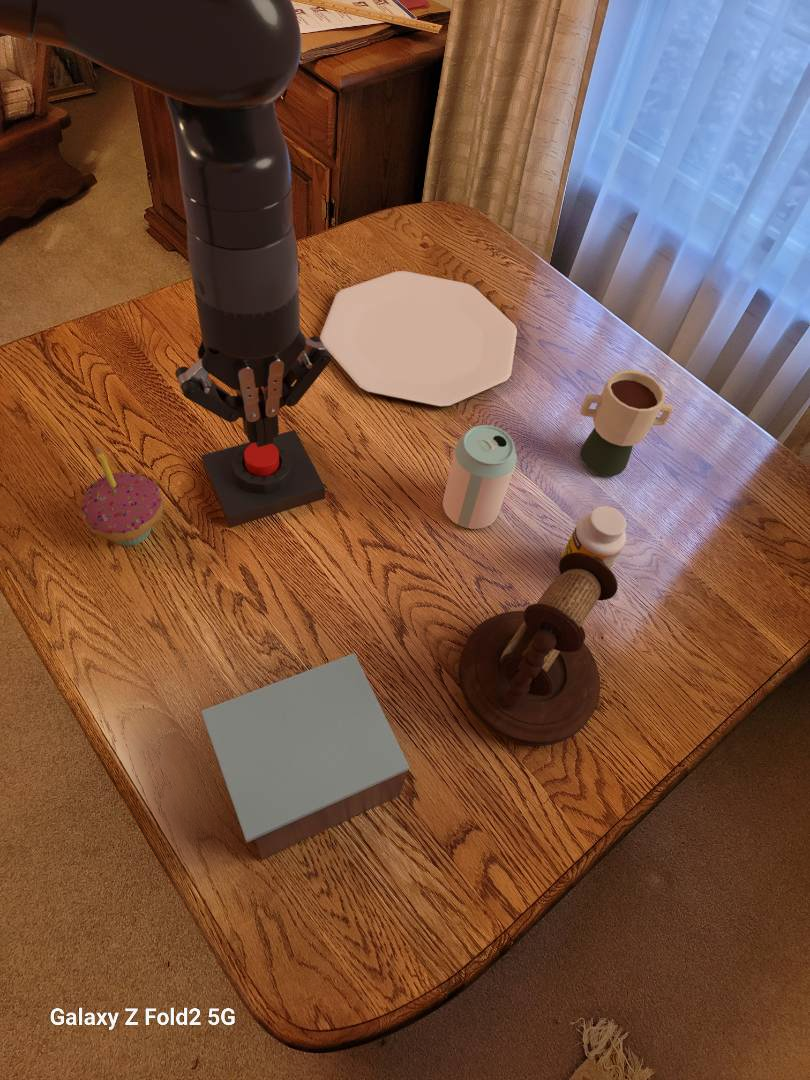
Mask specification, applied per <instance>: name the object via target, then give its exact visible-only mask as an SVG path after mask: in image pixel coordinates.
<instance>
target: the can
mask: <svg viewBox="0 0 810 1080" xmlns="http://www.w3.org/2000/svg"><path fill="white" fill-rule="evenodd" d="M517 461H518V456H517V451H516V448H515V442H514V440H513V438H512V437H511V435H510V434H508V432H506V431H505V430H503V429H501V428H499V427H497V426H494V425H488V424H480V425H476V426H473V427H471V428H470V429H468V430H467V431H466V432H465V434H463V435H462V436H461V437H460V438H459V439H458V441H457V442H456V444H455V448H454V452H453V455H452V460H451V464H450V468H449V473H448V477H447V481H446V485H445V490H444V495H443V497H442V508H443V512H444V513H445V515H446V516H447V518H448V519H449V520H451V521H452V522H453V523H454V524H456V525H458V526H460V527H462V528H466V529H471V530H477V529H484V528H487V527H489V526H490V525H492V524H493V523H494V522H495V521H496V520H497V518H498V517H499V515H500V511H501V509H502V506H503V502H504V501H505V497H506V494H507V491H508V488H509V486H510V482H511V479H512V476H513V473H514V470H515V469H516V465H517Z"/></svg>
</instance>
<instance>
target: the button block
mask: <svg viewBox="0 0 810 1080" xmlns="http://www.w3.org/2000/svg"><path fill="white" fill-rule="evenodd" d="M250 444H252V443H250V442H249V441H247V442H245V443H241V444H237V445H234V446H231V447H226V448H222V449H219V450H216V451H212V452H209V453H208V452H207V453H205V454H201V456H200V457H201V461H202V467H203V469H204V471H205V474H206V476H207V479H208V482H209V483H210V486H211V489H212V491H213V493H214V496H215V498H216V500H217V502H218V504H219V505H218V506H219V507H220V509H221V512H222V514H223V516H224V519H225V521H226V523H227V526H228V529H231V528H235V527H238V526H241V525H244V524H247V523H251V522H254V521H257V520H261V519H264V518H267V517H270V516H274V515H277V514H280V513H283V512H286V511H290V510H292V509H296V508H299V507H302V506H305V505H309V504H313V503H315V502H318V501H321V500H324V499H326V486H325V484H324V482H323V480H322V478H321V476H320V475H319V473H318V470H317V469H316V467H315V465H314V463H313V461H312V460H311V458H310V456H309V454H308V452H307V450H306V448H305V446H304V444H303V443H302V440H301V439H300V437H299V435H298V432H297V431H296V430H295V429H293V430H289V431H285V432H282V433H278V436H277V437H274V438H273V445H274V446H275V447H276V448H277V449H278V452H279V467H278V469H277V470H276V471H275V472H274V473H273V474H271V475H268V476H256V475H253V474H251V473H250V472H249V471H248V470H247V469H246V466H245V459H244V452H245V450H246V448H247V447H248V446H249V445H250Z"/></svg>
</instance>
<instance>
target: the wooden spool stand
mask: <svg viewBox="0 0 810 1080" xmlns="http://www.w3.org/2000/svg"><path fill="white" fill-rule="evenodd" d="M559 561H560V562H559ZM559 561H558V571H559V574H560V575H558V576H557V578H555V579H554V580H553V581H552V582H551V584H549V585H548V587H547V588H546V590H544V592H543V593H542V594H541V596H540V597H539V599H538V600H537V602H536V603H531V604H529V605H528V606H527V607H526V608H525V610H511V611H506V612H505V611H504V612H501V613H498V614H496V615H493V616H491V617H488V618H487V619H485V620H484V621H483V622H481V623H480V624H478V625H477V626H476V627H475V628H474V629H473V631H472V632H471V633H470V634H469V636H468V638H467V639H466V641H465V643H464V645H463V648H462V651H461V653H460V657H459V660H458V681H459V686H460V690H461V693H462V696H463V698H464V700H465V702H466V704H467V706H468V707H469V709H470V711H471V713H473V715H474V716H475V717H476V719H478V721H479V722H480V723H482V724H483V726H485V727H486V728H487V729H489V730H490V731H491V732H492V733H494V734H496V735H497V736H499V737H500V738H502V739H505V740H508V741H509V742H512V743H515V744H519V745H524V746H531V747H546V746H551V745H555V744H558V743H561V742H565V741H567V740H568V739H570V738H572V737H573V736H575V735H577V734H578V733H579V732H580V731H581V730H582V729H583V728H584V727H585V725H587V724H588V722H589V721H590V719H591V718H592V716H593V715H594V713H595V711H596V709H597V706H598V704H599V699H600V695H601V679H600V673H599V668H598V665H597V663H596V662H597V661H596V660H595V657H594V656H593V653H592V652H591V650H590V648H589V647H588V645H587V644H586V642H585V641H586V631H585V629H584V627H583V626H582V625H583V623H584V622H585V620H586V619H587V617H588V616H589V614H590V612H591V611H592V609H593V608H594V606H595V605H596V603H597V602H598V601H607V600H610V599H612V598H613V597H614V596H616V593H617V591H618V588H619V587H618V585H619V584H618V581H617V578H616V576H615V574H614V572H613V571H612V569H611V568H610V569H609V568H608V567H607V566H606V565H605V563H604V561H603V560H602V559H601V558H599V557H596V556H590V555H588V554H584V553H578V552H574V553H569V554H566V555H565V556H563V557H562V559H561V560H560V559H559Z"/></svg>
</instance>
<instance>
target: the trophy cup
mask: <svg viewBox="0 0 810 1080" xmlns="http://www.w3.org/2000/svg"><path fill="white" fill-rule="evenodd" d="M665 398H666V393H665V391H664V388H663V387H662V385H661V384H660V383H659V382H658V381H657V380H656V379H655V378H654V377H652V376H651V375H649V374H647V373H646V372H644V371H643V372H642V371H640V370H636V369H620V370H619V371H616V372H614V373H613V374H612V375H610V377H608V379H607V380H606V382H605V385H604V387H603V390H602V392H601V394H593V393H589V394H587V395H586V396H585V398H584V400H583V403H582V405H581V407H580V410H579V413H580V415H581V416H583V417H589V418H592V422H593V426H594V427H593V429H592V431H590V433H589V435H588V436H587V437H586V439H585V441H584V442H583V444H582V445H581V448H580V454H579V455H580V458H581V461H582V463H583V464H584V465H585V466H586V467H587V469H588V470H589V471H591V472H592V473H594V474H596V475H598V476H600V477H606V478H607V477H608V478H612V477H614V476H618V475H620V474H621V473H622V472H623V471H624V470H626V469H627V466H628V463H629V461H630V457H631V454H632V450H633V447H634V445H638V444H639V443H641V442H642V441H643V440H644V438H645V437H646V436H647V435H648V433H649V432H650V430H651V428H652V426H659V427H660V426H665V425H666V424H667V422H668V421H669V418H670V417H671V415H672V413H673V411H674V406H673V405H672V404H670V403H665ZM592 404H596V406H595V408H591V406H592ZM659 412H662V414H661V416H658V415H659Z"/></svg>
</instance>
